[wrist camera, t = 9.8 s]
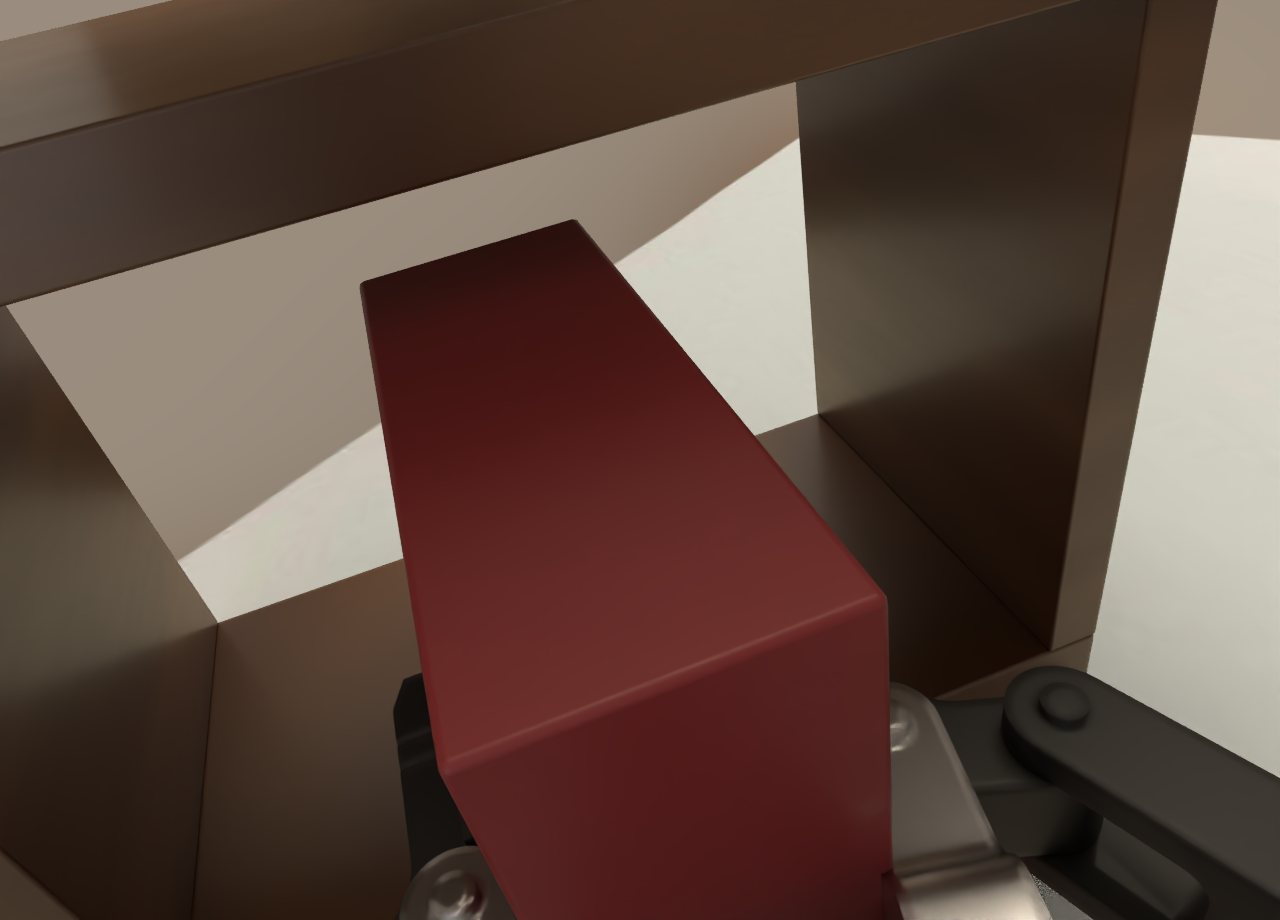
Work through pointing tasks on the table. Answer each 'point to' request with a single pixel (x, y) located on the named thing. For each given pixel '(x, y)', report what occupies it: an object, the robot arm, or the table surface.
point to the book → (623, 605)
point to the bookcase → (805, 450)
